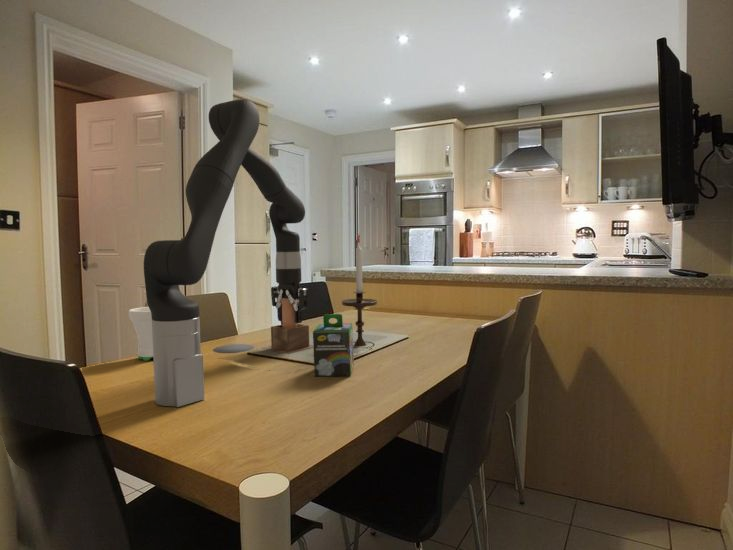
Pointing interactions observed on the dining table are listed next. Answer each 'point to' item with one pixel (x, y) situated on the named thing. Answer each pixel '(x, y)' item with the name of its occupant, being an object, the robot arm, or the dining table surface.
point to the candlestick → (359, 298)
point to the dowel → (288, 314)
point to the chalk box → (333, 347)
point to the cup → (143, 331)
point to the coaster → (233, 348)
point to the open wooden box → (289, 339)
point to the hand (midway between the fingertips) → (289, 321)
